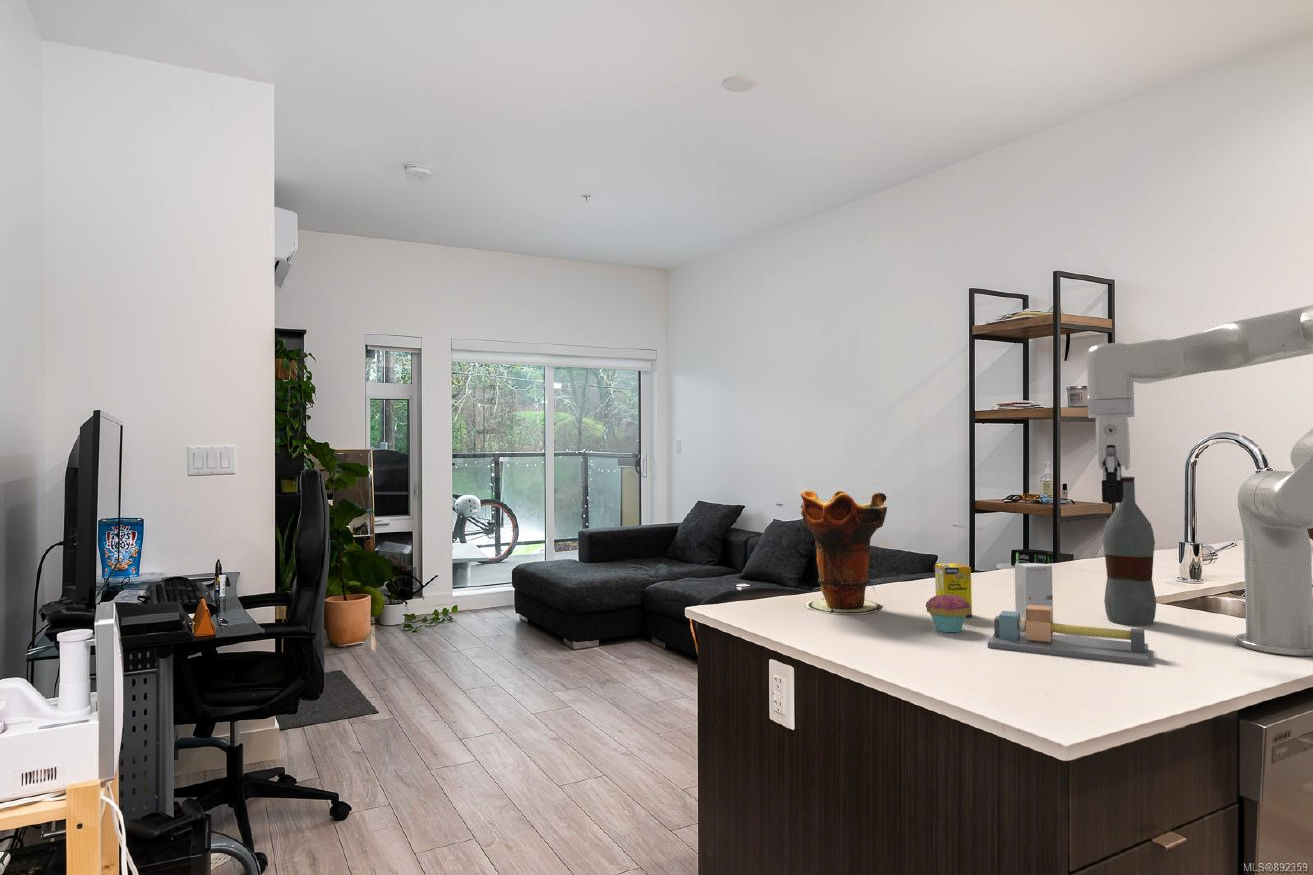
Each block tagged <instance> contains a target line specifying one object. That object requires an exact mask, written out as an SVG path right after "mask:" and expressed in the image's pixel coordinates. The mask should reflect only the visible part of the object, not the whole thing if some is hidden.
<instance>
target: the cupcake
mask: <svg viewBox="0 0 1313 875" xmlns="http://www.w3.org/2000/svg"><path fill="white" fill-rule="evenodd" d="M937 573H938V570H937ZM937 579H938V584H939V589H940V595H937V596H936V595H934V596H932V597H930V598H929V599H928V601H926V603H925V608H926V612H927V613H929V614H930V616H931V618H932V621H933V624H934V627H935V629H936V631H938V632H941V633H946V632H957V633H961V632H962V629H963V625H964V623H965V620H966V618H967V617H966V616H967V615H970V614H971V607H970V604H969V603H968V602H967V601H966V600H965V599H964V598H961V597H958V596H957V595H956V596H954V595H944V592H943V587H942V582H941V576H940V574H939V573H938V574H937Z"/></svg>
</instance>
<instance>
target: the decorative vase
mask: <svg viewBox="0 0 1313 875" xmlns="http://www.w3.org/2000/svg"><path fill="white" fill-rule="evenodd" d="M800 497H801V499H802V504H801V505H800V508H801V511H800V515H801V516H802V524H804V525H805V526H806V527H807V528H808V529H809V531H810V533H811V534H812V535H813V537H814V540H815V543H814V544H815V546H816V564H817V569H818V570H817V571H818V577H819V578H818V579H817V582H818V583H819V584H820V591H821V593H822V595H823V597H824V598H819V599H816V600H811V601H808V602H806V603H804V607H805V608H807V609H810V610H813V611H815V612H819V613H825V614H832V615H840V614H841V615H843V614H845V615H861V614H862V615H865V614H871V613H875V612H878V610H877V609H880V608H881V607H882V606H883V603H877V602H876V601H872V600H868V599H866V598H865V597H866V588H867V585H868V584H871V585H873V584H872V582H871V580H870V579H868V573H869V567H870V549H871V548H870V546H871V539H872V537H873V535H874V534H875V533H876V531H877V530H878V529H880V528H881V527H883V525H884V522H885V520H886V516H887V511H888V506H886V505H884V503H885V501H887V496H886V494H885V493H883V492H875V493H873V494H872V495H871V500H870V502H868V503H863V504H862V503H861V504H860V503H856V501H855V500H854V498H853V497H851V495H849V494H848V493H847V492H846V491H843V490H837V491H835V492H834V493H833V495H832V496H831V498H830V499H829V500H826V501H822V500H821V499H820V498H819V496H818V493H816V492H815V491H812V490H802V491H801V492H800ZM872 588H873V590H874V593H875V595H877V594H876V591H875V587H874V586H872Z"/></svg>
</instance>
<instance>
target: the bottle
mask: <svg viewBox="0 0 1313 875" xmlns="http://www.w3.org/2000/svg"><path fill="white" fill-rule="evenodd" d="M1122 478H1123V494H1124V498H1123V499H1122V502H1121V503H1118V505H1117V506H1116V508H1115V509H1114V511H1113V512H1112V513H1111V515H1110V517H1109V518H1108V520H1107V521H1106V523H1105V525H1104V530H1103V538H1102V544H1103V551H1104V558H1105V567H1106V576H1107V577H1106V582H1105V588H1104V589H1105V591H1104V598H1103V599H1104V601H1103V603H1104V608H1105V614H1106V617H1107V620H1108V621H1109V622H1112V623H1115V624H1119V625H1125V626H1137V627H1138V626H1140V627H1141V626H1142V627H1143V626H1145V627H1146V626H1151V625H1153V624H1154V621H1155V618H1156V613H1157V611H1156V610H1157V600H1156V599H1157V597H1156V592H1155V588H1154V581H1153V570H1154V569H1153V568H1154V554H1155V544H1156V542H1155V535H1154V530H1153V527H1152V524H1151V522H1150V521H1149V519H1148V518H1147V516H1146V515H1145V514H1144V513H1143V511H1142V510H1141V509H1140V507H1139V506H1138V504H1137V503H1136V489H1135V487H1136V485H1135V480H1136V478H1135V476H1122Z"/></svg>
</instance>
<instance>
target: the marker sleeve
mask: <svg viewBox="0 0 1313 875" xmlns="http://www.w3.org/2000/svg"><path fill="white" fill-rule="evenodd" d="M1051 623H1054V612H1053V613H1052V606H1043V605H1031V604H1029V605H1028V606H1027V607H1026V639H1027V640H1037V641H1047V642H1051V638H1053V634H1054V632H1051Z"/></svg>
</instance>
